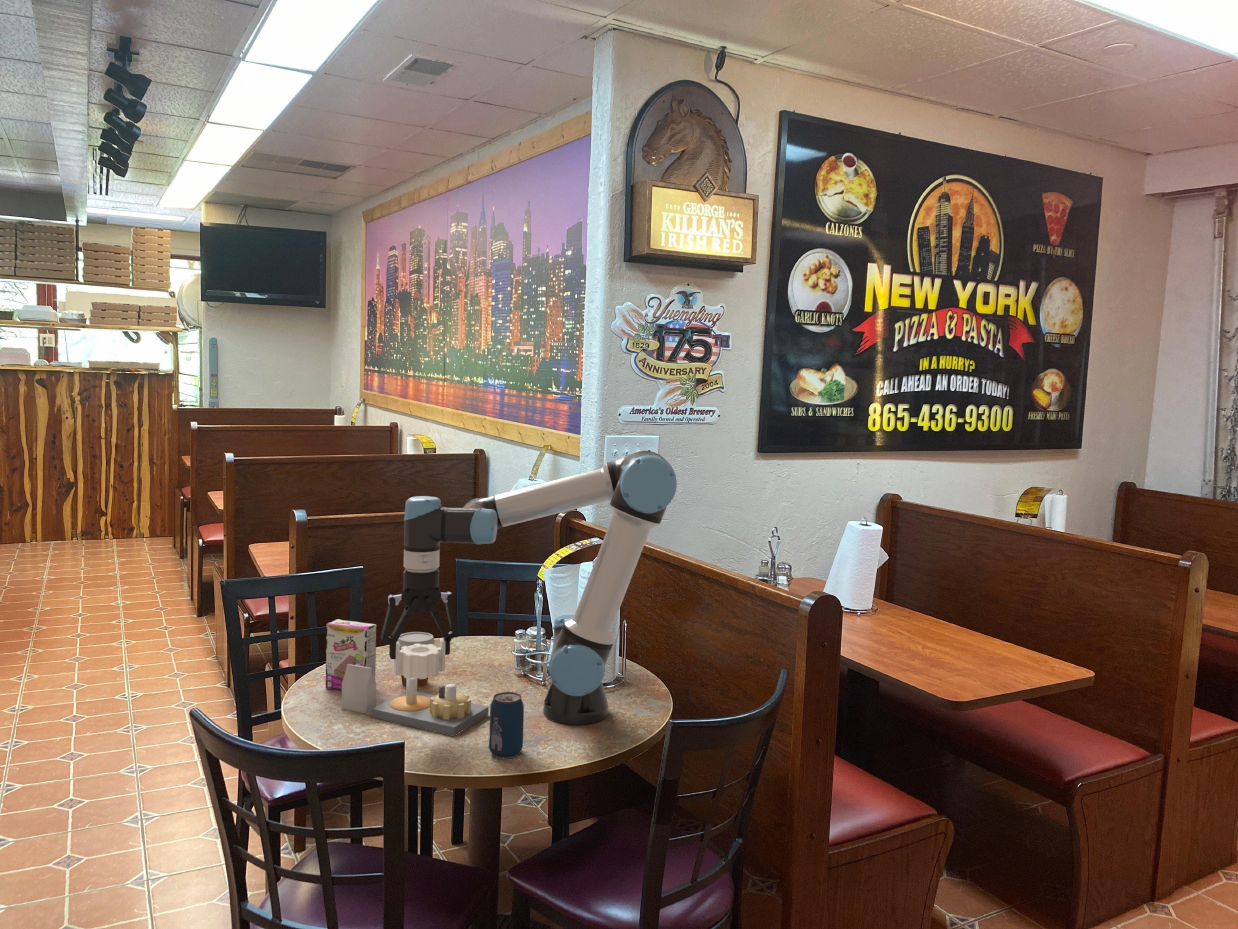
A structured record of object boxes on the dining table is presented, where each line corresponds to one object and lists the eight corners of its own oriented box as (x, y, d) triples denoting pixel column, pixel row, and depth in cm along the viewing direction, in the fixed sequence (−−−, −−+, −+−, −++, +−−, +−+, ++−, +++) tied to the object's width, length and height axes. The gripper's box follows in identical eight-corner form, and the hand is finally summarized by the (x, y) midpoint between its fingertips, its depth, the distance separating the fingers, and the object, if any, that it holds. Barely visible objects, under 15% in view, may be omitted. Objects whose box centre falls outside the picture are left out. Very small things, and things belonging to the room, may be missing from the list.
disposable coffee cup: (424, 691, 216) (425, 644, 215) (388, 687, 218) (389, 640, 217) (440, 679, 225) (441, 633, 224) (405, 675, 227) (406, 629, 226)
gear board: (488, 715, 203) (489, 681, 202) (454, 736, 190) (454, 700, 189) (409, 698, 211) (410, 665, 211) (371, 717, 199) (372, 682, 198)
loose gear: (436, 664, 197) (437, 642, 196) (444, 677, 188) (444, 654, 188) (395, 667, 193) (395, 645, 193) (401, 680, 185) (401, 657, 185)
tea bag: (366, 713, 201) (367, 670, 200) (341, 708, 203) (342, 666, 202) (376, 708, 204) (376, 666, 203) (351, 703, 206) (352, 661, 206)
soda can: (523, 746, 186) (525, 691, 185) (521, 760, 179) (523, 703, 178) (490, 745, 186) (492, 690, 185) (486, 759, 179) (488, 702, 178)
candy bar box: (324, 689, 215) (325, 623, 213) (335, 683, 219) (336, 618, 218) (365, 695, 212) (366, 628, 210) (376, 688, 217) (377, 623, 215)
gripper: (371, 574, 181) (369, 681, 183) (475, 570, 189) (472, 672, 191) (367, 567, 188) (365, 670, 190) (467, 563, 196) (465, 661, 198)
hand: (419, 671), depth 191 cm, fingers closed on loose gear, 9 cm apart
